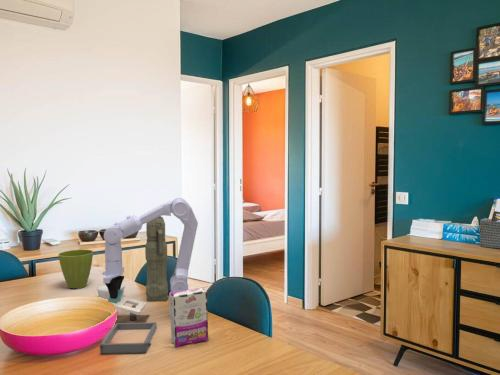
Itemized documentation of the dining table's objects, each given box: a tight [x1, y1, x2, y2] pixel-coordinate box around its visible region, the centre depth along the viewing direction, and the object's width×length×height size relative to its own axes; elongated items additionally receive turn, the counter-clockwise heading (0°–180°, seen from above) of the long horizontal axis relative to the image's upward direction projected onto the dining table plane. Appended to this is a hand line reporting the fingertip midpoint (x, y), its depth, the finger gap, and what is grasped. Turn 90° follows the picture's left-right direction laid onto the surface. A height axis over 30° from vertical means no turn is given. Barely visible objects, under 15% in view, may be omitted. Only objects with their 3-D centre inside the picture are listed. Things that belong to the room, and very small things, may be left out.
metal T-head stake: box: [129, 305, 137, 321], centre depth 153 cm, size 2×4×5 cm, turn 2°
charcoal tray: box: [99, 321, 157, 355], centre depth 137 cm, size 14×17×3 cm
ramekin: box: [96, 283, 126, 300], centre depth 181 cm, size 11×11×5 cm
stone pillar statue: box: [144, 216, 169, 303], centre depth 177 cm, size 9×12×35 cm
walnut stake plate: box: [114, 314, 151, 326], centre depth 152 cm, size 14×12×1 cm
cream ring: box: [107, 289, 147, 315], centre depth 152 cm, size 12×9×5 cm
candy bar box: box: [169, 287, 209, 348], centre depth 137 cm, size 11×5×16 cm, turn 117°
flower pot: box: [57, 249, 94, 289], centre depth 198 cm, size 15×15×16 cm
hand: (114, 297), depth 153 cm, fingers closed on cream ring
